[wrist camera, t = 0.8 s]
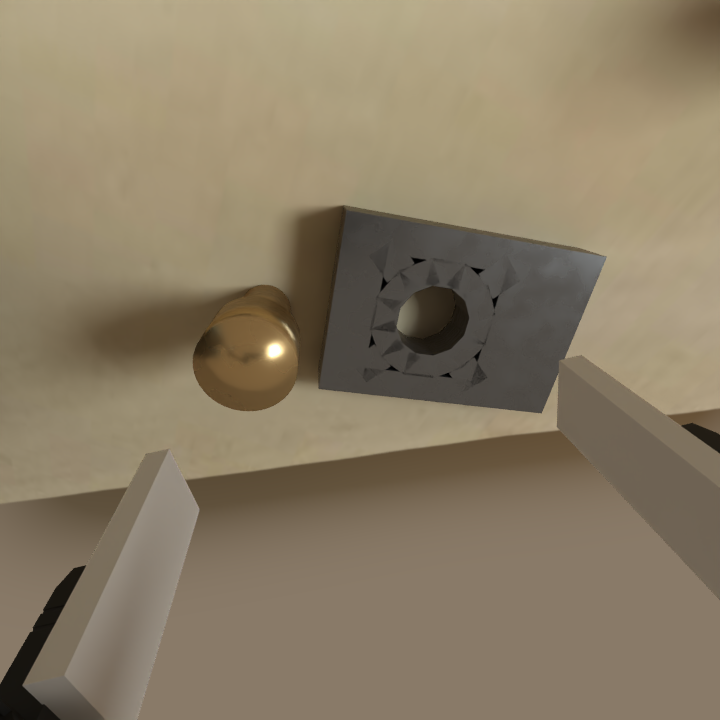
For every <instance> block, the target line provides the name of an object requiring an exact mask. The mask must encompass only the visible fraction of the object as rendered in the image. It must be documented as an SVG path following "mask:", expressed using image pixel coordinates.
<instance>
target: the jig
mask: <svg viewBox="0 0 720 720" xmlns="http://www.w3.org/2000/svg"><path fill="white" fill-rule="evenodd" d="M606 258H607V257H605V256H602V255H599V254H596V253H593V252H590V251H587V250H584V249H581V248H575V247H570V246H564V245H559V244H553V243H548V242H542V241H537V240H531V239H526V238H520V237H515V236H509V235H504V234H498V233H493V232H487V231H482V230H476V229H471V228H465V227H460V226H454V225H449V224H444V223H438V222H433V221H427V220H422V219H416V218H411V217H405V216H400V215H394V214H389V213H383V212H378V211H372V210H367V209H361V208H356V207H350V206H345V205H343V212H342V219H341V225H340V232H339V238H338V245H337V251H336V258H335V264H334V271H333V277H332V284H331V290H330V297H329V304H328V310H327V317H326V323H325V330H324V336H323V343H322V349H321V356H320V362H319V369H318V380H319V389H325V390H334V391H343V392H352V393H361V394H371V395H380V396H389V397H398V398H407V399H416V400H425V401H434V402H443V403H453V404H462V405H471V406H480V407H489V408H498V409H507V410H516V411H526V412H535V413H542V411H543V409H544V406H545V404H546V401H547V399H548V397H549V394H550V392H551V389H552V387H553V385H554V382H555V380H556V377H557V375H558V373H559V360H562V359H564V358H565V356H566V353H567V351H568V349H569V346H570V344H571V341H572V339H573V337H574V334H575V332H576V329H577V327H578V325H579V322H580V320H581V317H582V315H583V313H584V310H585V308H586V305H587V303H588V301H589V298H590V296H591V293H592V291H593V289H594V286H595V284H596V282H597V279H598V277H599V274H600V272H601V270H602V267H603V265H604V262H605V260H606ZM431 286H438V287H444V288H451V289H452V291H453V295H454V299H455V302H456V306H455V309H454V313H453V316H452V320H451V321H450V322H449V324H448V325H447V326H446V327H445V328H444V329H443V330H442V331H441V332H440V333H438V334H436V335H433V336H430V337H428V338H425V339H419V338H412V337H407V336H405V335H404V334H403V333H401V332H400V331H399V330H398V329H397V327H396V325H397V321H398V316H399V312H400V308H401V307H402V305H403V304H404V303H405V302H406V301H407V300H408V299H409V298H410V296H411V295H412V294H413V293H415V292H417V291H420V290H423V289H425V288H428V287H431Z"/></svg>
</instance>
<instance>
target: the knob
mask: <svg viewBox="0 0 720 720" xmlns="http://www.w3.org/2000/svg"><path fill="white" fill-rule="evenodd" d="M290 313H291V306H290V302H289V300H288V298H287V296H286V295H285V294H284V293H283V292H282V291H281V290H279V289H278V288H276V287H273V286H270V285H259V286H256V287H253V288H252V289H250V290H249V291H248V292H247V293H246V294H245V296H244V297H241V298H238V299H235V300H233V301H231V302H229V303H227V304H226V305H225V306H223V307H222V308H221V309H220V310H219V312H218V313H217V314H216V316H215V317H214V319H213V320H212V322H211V323H210V325H209V327H208V328H207V330H206V331H205V333H204V334H203V336H202V337H201V339H200V340H199V342H198V343H197V346H196V348H195V351H194V355H193V369H194V374H195V377H196V379H197V381H198V383H199V385H200V386H201V388H202V389H203V390H204V392H205V393H206V394H207V395H208V396H209V397H211V398H212V399H213V400H215V401H216V402H218V403H219V404H221V405H223V406H226V407H228V408H231V409H235V410H240V411H257V410H263V409H266V408H269V407H271V406H274V405H275V404H277V403H279V402H280V401H281V400H283V399H284V398H285V397H286V396H287V395H288V394H289V392H290V391H291V390H292V388H293V386H294V384H295V381H296V378H297V372H298V361H299V350H300V332H299V328H298V325H297V323H296V321H295V319H294V318H293V316H292V315H291V314H290Z"/></svg>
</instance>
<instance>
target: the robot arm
mask: <svg viewBox="0 0 720 720" xmlns="http://www.w3.org/2000/svg"><path fill="white" fill-rule="evenodd" d="M557 427H558V429H559V430H560V431H561V432H562V433H563V434H564V435H565V436H566V437H567V438H568V439H569V440H570V441H571V442H572V443H573V444H574V446H575V447H577V449H578V450H579V451H580V452H581V453H582V454H583V455H584V456H585V457H586V458H587V459H588V460H589V461H590V463H591V464H592V465H593V466H594V467H595V468H596V469H597V470H598V471H599V472H600V473H601V474H602V475H603V476H604V477H605V479H606V480H607V481H608V482H609V483H610V484H611V485H612V486H613V487H614V488H615V489H616V490H617V491H618V492H619V493H620V494H621V496H622V497H624V499H625V500H626V501H627V502H628V503H629V504H630V505H631V506H632V507H633V508H634V509H635V510H636V511H637V512H638V513H639V515H640V516H641V517H642V518H643V519H644V520H645V521H646V522H647V523H648V524H649V525H650V526H651V527H652V528H653V530H654V531H655V532H656V533H657V534H658V535H659V536H660V537H661V538H662V539H663V540H664V541H665V542H666V543H667V544H668V546H669V547H671V549H672V550H673V551H674V552H675V553H676V554H677V555H678V556H679V557H680V558H681V559H682V560H683V561H684V563H685V564H686V565H687V566H688V567H689V568H690V569H691V570H692V571H693V572H694V573H695V574H696V575H697V576H698V577H699V579H701V580H702V582H703V583H704V584H705V585H706V586H707V587H708V588H709V589H710V590H711V591H712V592H713V593H714V594H715V595H716V597H717V598H718V599H719V600H720V435H719V434H718V433H716V432H713V431H711V430H708V429H706V428H703V427H701V426H698V425H696V424H693V423H690V424H686V425H682V426H680V425H679V424H677V423H676V422H675V421H673V420H672V419H670V418H669V417H668V416H666V415H665V414H663V413H662V412H660V411H659V410H658V409H656V408H655V407H653V406H652V405H651V404H649V403H648V402H646V401H645V400H644V399H642V398H641V397H639V396H638V395H637V394H635V393H634V392H632V391H631V390H630V389H628V388H627V387H625V386H624V385H623V384H621V383H620V382H618V381H617V380H616V379H614V378H613V377H611V376H610V375H608V374H607V373H606V372H604V371H603V370H601V369H600V368H599V367H597V366H596V365H594V364H593V363H592V362H590V361H589V360H587V359H586V358H585V357H583V356H582V355H580V356H576V357H571V358H567V359H562V360H559V380H558V409H557ZM198 513H199V507H198V505H197V503H196V501H195V499H194V497H193V495H192V493H191V491H190V489H189V487H188V485H187V483H186V481H185V479H184V477H183V475H182V473H181V471H180V469H179V467H178V465H177V463H176V461H175V459H174V457H173V455H172V453H171V451H170V449H166V450H161V451H157V452H153V453H148V454H146V455H145V457H144V459H143V460H142V462H141V464H140V466H139V468H138V470H137V472H136V474H135V475H134V477H133V479H132V481H131V483H130V485H129V487H128V489H127V491H126V493H125V494H124V496H123V498H122V500H121V502H120V504H119V506H118V508H117V509H116V511H115V513H114V515H113V517H112V519H111V520H110V522H109V524H108V526H107V528H106V530H105V532H104V533H103V535H102V537H101V539H100V541H99V543H98V545H97V547H96V548H95V550H94V552H93V554H92V556H91V558H90V560H89V562H88V564H87V565H86V566H81V567H77V568H74V569H73V570H72V571H71V572H70V573H69V574H68V575H67V576H66V578H65V579H64V580H63V581H62V582H61V583H60V584H59V585H58V586H57V587H56V589H55V590H54V592H53V594H52V595H51V597H50V599H49V601H48V602H47V604H46V606H45V607H44V609H43V611H44V612H43V614H40V616H39V618H38V620H37V621H36V623H35V625H34V627H33V632H30V633H29V635H28V637H27V639H26V640H25V642H24V644H23V646H22V647H21V649H20V651H19V652H18V654H17V656H16V658H15V659H14V661H13V663H12V665H11V667H10V668H9V670H8V672H7V673H6V675H5V677H4V679H3V680H2V682H1V684H0V720H137V718H138V715H139V712H140V708H141V705H142V702H143V698H144V695H145V692H146V688H147V685H148V681H149V678H150V675H151V671H152V668H153V665H154V661H155V658H156V654H157V651H158V648H159V644H160V641H161V638H162V634H163V631H164V628H165V624H166V621H167V617H168V614H169V611H170V607H171V604H172V601H173V597H174V594H175V591H176V587H177V584H178V580H179V577H180V573H181V570H182V567H183V564H184V560H185V557H186V553H187V550H188V546H189V543H190V540H191V536H192V533H193V530H194V527H195V523H196V520H197V516H198Z"/></svg>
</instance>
